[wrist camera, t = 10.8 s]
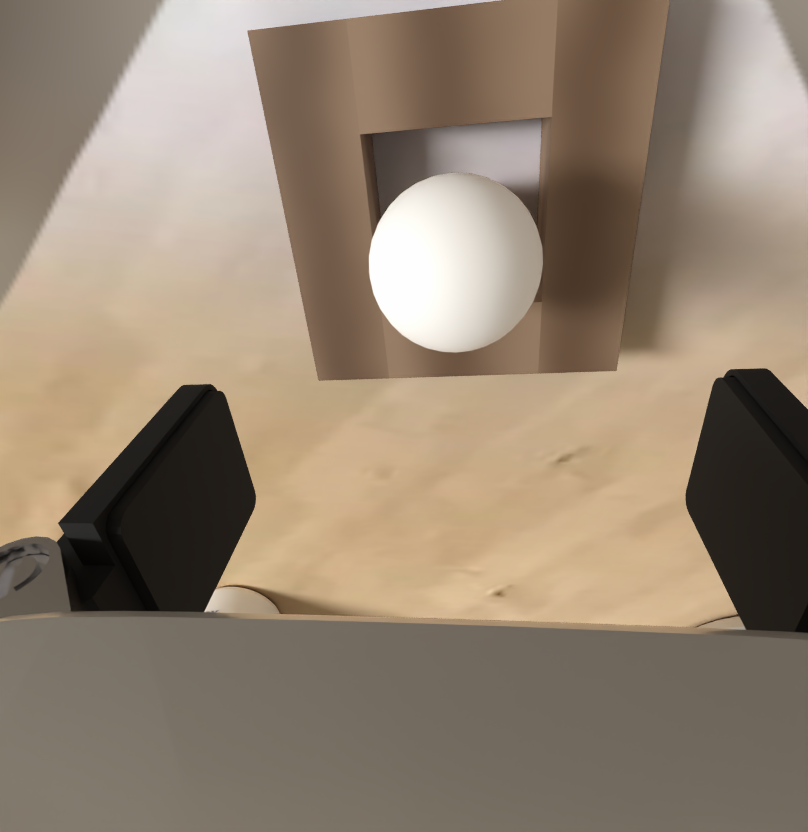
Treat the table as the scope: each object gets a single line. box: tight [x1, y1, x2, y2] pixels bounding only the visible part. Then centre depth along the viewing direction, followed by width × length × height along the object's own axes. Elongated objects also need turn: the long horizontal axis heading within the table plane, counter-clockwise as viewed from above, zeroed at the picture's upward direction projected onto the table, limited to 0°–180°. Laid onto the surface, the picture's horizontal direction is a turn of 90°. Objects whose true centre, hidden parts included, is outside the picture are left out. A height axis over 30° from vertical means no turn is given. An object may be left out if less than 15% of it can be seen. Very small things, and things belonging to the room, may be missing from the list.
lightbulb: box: [369, 173, 543, 353], centre depth 21 cm, size 6×6×11 cm
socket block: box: [248, 0, 670, 381], centre depth 24 cm, size 15×15×3 cm
